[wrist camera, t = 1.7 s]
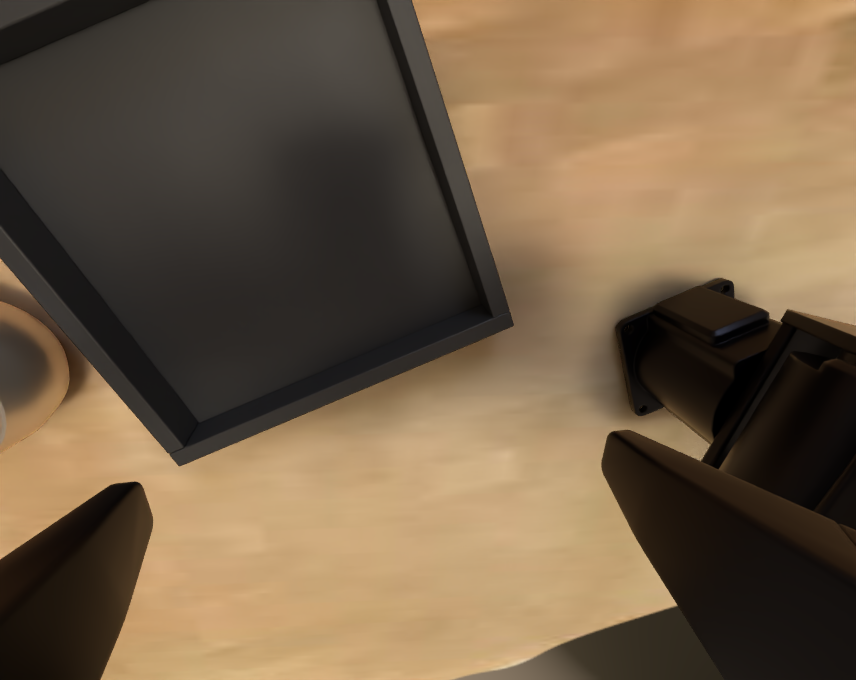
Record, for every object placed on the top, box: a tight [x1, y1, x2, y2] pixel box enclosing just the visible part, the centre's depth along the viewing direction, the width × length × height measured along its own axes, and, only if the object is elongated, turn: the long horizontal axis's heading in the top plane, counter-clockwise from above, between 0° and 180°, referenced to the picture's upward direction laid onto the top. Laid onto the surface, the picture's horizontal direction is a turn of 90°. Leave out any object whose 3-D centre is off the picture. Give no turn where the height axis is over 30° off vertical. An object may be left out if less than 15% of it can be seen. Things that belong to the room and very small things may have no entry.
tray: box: [0, 0, 514, 466], centre depth 17 cm, size 17×17×2 cm
